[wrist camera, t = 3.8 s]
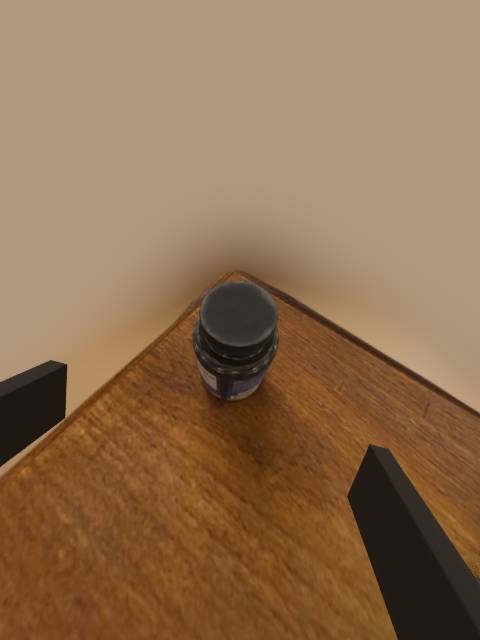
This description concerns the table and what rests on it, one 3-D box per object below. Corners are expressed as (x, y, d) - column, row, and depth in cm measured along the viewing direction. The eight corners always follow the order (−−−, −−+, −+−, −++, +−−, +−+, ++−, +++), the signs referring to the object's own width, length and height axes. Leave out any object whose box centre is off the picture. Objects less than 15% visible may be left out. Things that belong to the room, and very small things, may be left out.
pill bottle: (265, 348, 24) (294, 280, 15) (258, 408, 21) (289, 370, 12) (208, 338, 25) (201, 264, 15) (192, 396, 21) (172, 348, 12)
